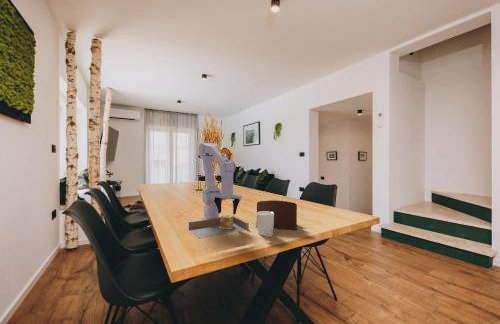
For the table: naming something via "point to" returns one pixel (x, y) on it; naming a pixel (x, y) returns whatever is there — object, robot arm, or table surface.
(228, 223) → the ochre block
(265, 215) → the white cup
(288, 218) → the letter holder
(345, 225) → the table surface
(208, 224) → the arena
